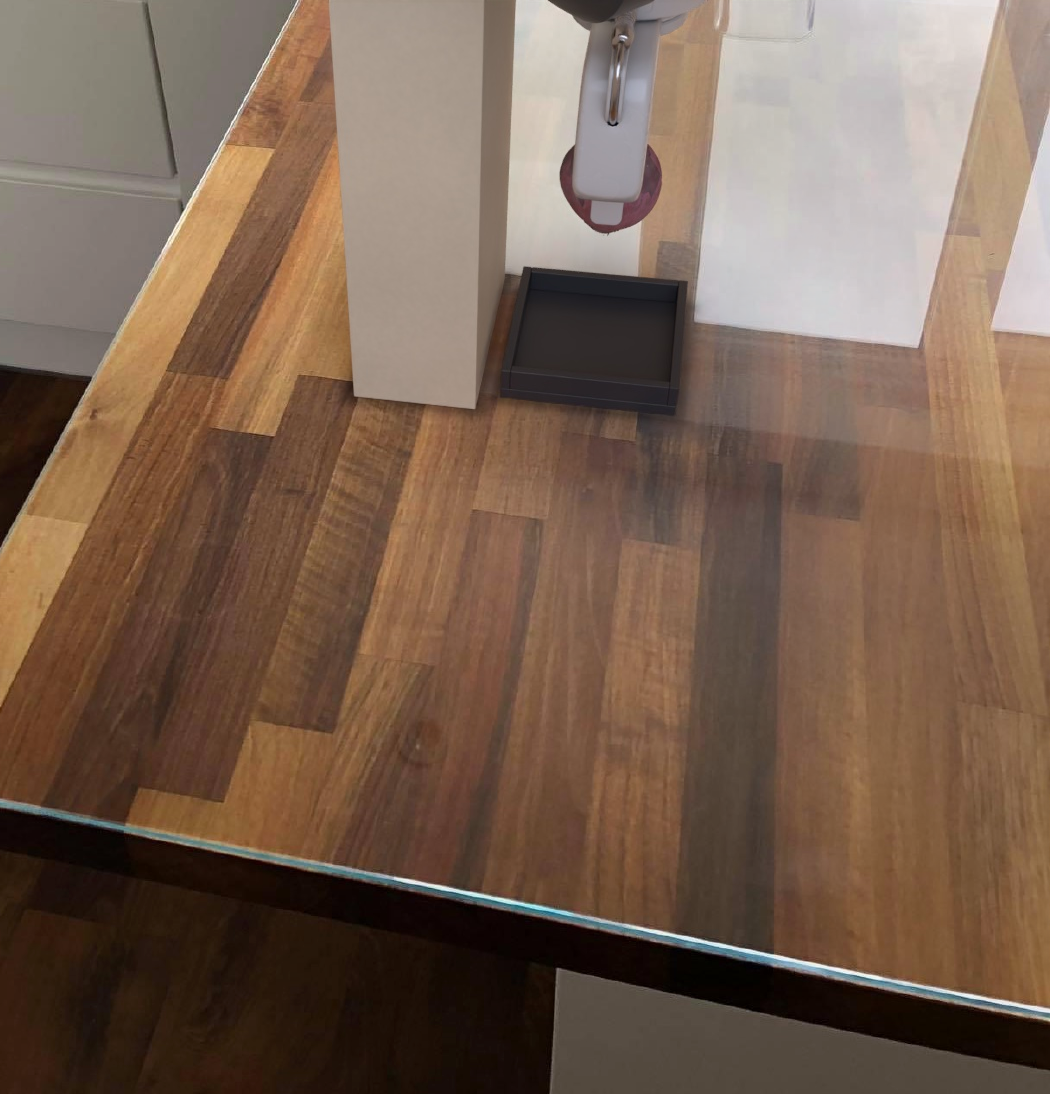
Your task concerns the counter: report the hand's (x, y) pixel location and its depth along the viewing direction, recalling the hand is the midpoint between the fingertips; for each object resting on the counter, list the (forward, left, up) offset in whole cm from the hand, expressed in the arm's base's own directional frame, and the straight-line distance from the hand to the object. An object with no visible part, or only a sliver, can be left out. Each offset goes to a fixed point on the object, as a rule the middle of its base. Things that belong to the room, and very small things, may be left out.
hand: (611, 180), depth 82 cm
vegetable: (0, 0, -4) cm, 4 cm away
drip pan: (0, 0, -13) cm, 13 cm away
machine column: (+11, 0, -13) cm, 17 cm away
